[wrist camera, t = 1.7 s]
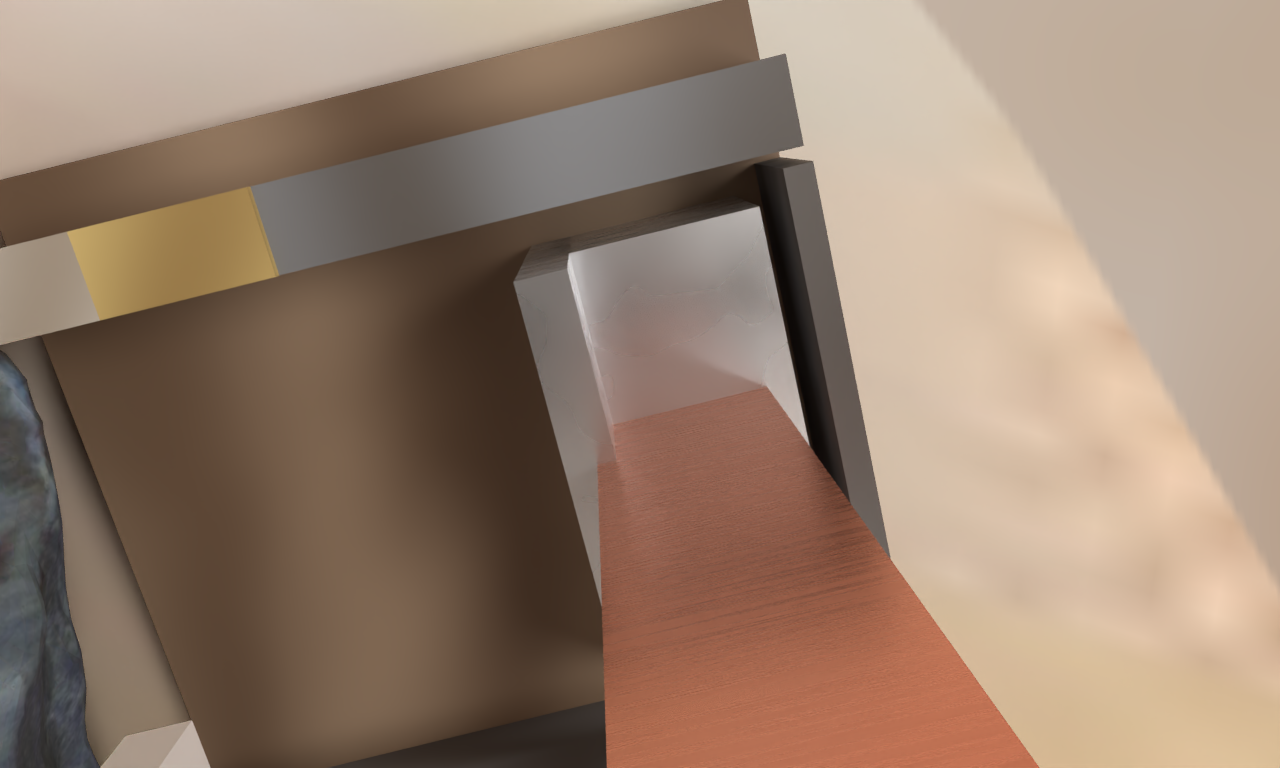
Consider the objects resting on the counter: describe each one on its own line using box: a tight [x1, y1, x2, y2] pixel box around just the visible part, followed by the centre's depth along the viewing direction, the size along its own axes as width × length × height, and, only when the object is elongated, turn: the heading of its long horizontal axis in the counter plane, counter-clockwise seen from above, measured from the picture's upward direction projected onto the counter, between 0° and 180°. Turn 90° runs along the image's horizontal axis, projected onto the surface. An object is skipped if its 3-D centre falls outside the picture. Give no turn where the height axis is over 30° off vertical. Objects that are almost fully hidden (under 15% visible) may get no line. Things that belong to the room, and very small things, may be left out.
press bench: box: [0, 0, 890, 768], centre depth 20 cm, size 14×16×4 cm
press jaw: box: [513, 196, 1039, 768], centre depth 14 cm, size 4×9×14 cm, turn 14°
